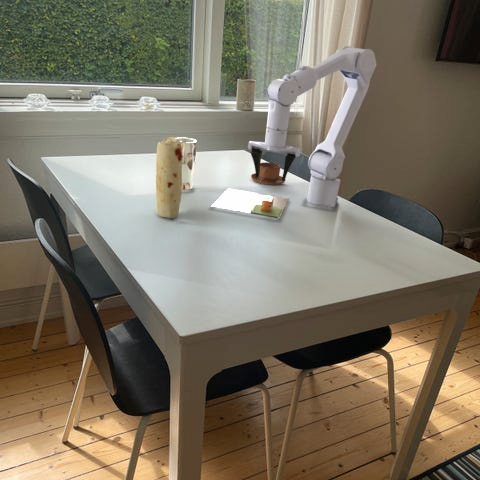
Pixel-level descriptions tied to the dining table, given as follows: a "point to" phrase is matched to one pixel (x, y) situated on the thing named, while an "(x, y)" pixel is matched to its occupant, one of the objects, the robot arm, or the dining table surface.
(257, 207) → the corner pad
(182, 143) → the beer glass
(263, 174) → the cup and saucer
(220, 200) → the board
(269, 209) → the goldfish
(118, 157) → the dining table surface
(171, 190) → the food model
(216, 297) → the dining table surface
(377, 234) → the dining table surface
